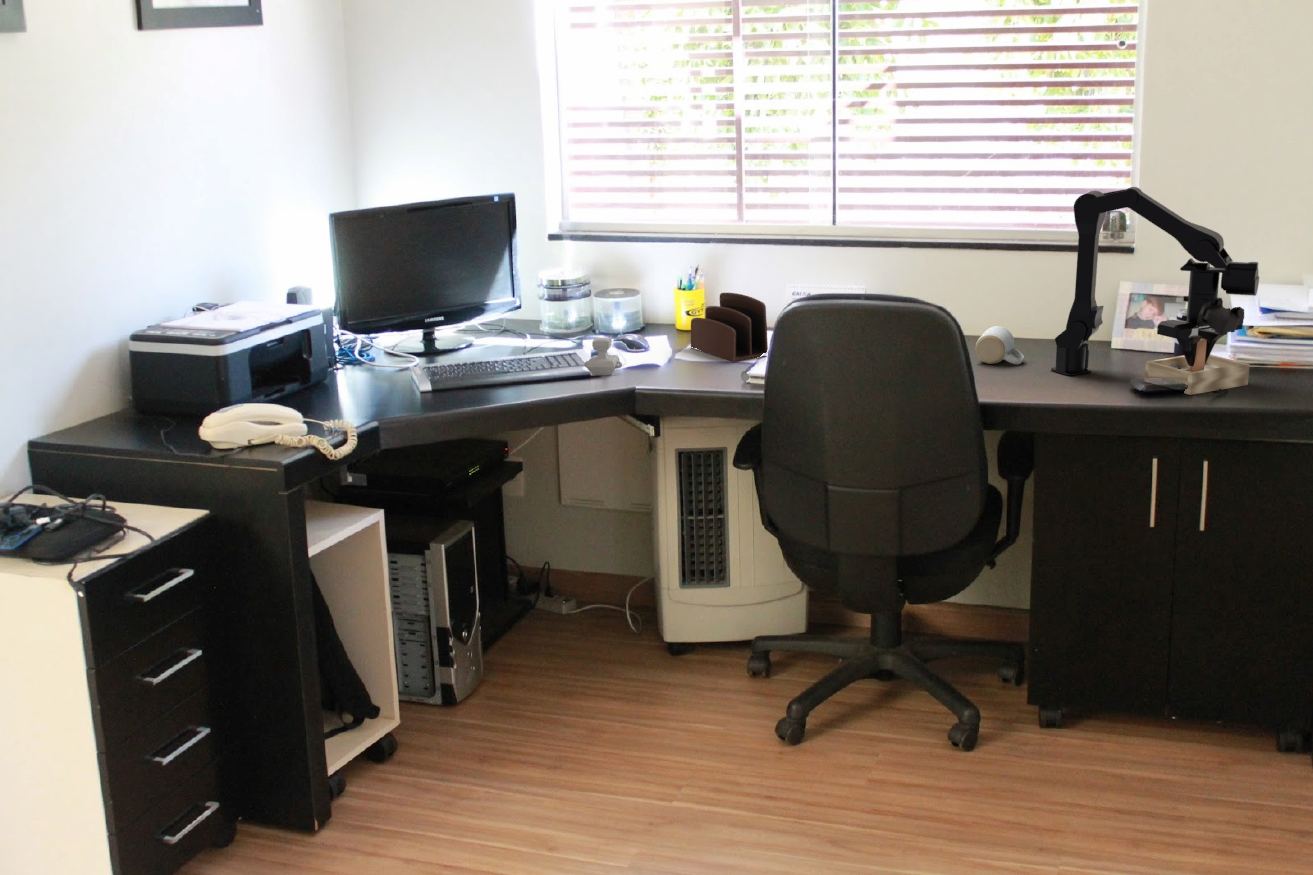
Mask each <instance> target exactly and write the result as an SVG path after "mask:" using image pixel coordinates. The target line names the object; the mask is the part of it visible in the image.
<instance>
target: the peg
mask: <svg viewBox="0 0 1313 875" xmlns="http://www.w3.org/2000/svg"><path fill="white" fill-rule="evenodd" d="M1206 344H1207V340H1206V339H1201V340H1200V341H1199V342H1198V343H1197V348H1196V356H1195V362H1194V366H1189V371H1190V372H1196V371H1202V370H1204V367H1205V355H1206Z"/></svg>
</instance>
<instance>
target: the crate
mask: <svg viewBox="0 0 1313 875" xmlns="http://www.w3.org/2000/svg"><path fill="white" fill-rule="evenodd" d="M1171 364H1178V365H1180V366H1181V369H1178V368H1175V367H1171V366H1168V365H1171ZM1250 367H1251V366H1250V363H1247V362H1242V361H1238V360H1234V359H1231V358H1226V357H1221V356H1217V355H1213V354H1210V355H1209V357H1208V360H1207V362H1206V364H1205V367H1204V370H1202V371H1196V372H1190V371H1189V365H1188V363H1187V361H1186V358H1185V356H1184V355H1183V356H1177V357H1174V356H1173V357H1166V358H1158V359H1152V360H1147V361H1145V368H1144V379H1149V378H1161V379H1165V380H1175V381H1180V382H1183V383H1185V384H1186V385H1188V388H1187V389H1185V391H1184V393H1183V394H1186V395H1190V396H1191V395H1197V394H1203V393H1208V392H1214V391H1220V390H1219V389H1221V390H1227V389H1231V388H1238V387H1242V386H1244V387H1245V386H1248V384H1249V374H1250Z"/></svg>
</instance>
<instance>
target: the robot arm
mask: <svg viewBox="0 0 1313 875" xmlns="http://www.w3.org/2000/svg"><path fill="white" fill-rule="evenodd" d="M1125 208H1126V209H1127V208H1128V209H1130V210H1131V211H1133V212H1135V213H1136V214H1138V215H1139V216H1141V217H1142V218H1144V219H1145V220H1147V221H1148V222H1149V223H1151V224H1153V225H1154V226H1156V227H1158V228H1159V229H1161V230H1162V231H1164V232H1165V233H1167V234H1168V235H1170V236H1171V237H1172V238H1174V239H1175V240H1176V241H1177V242H1178V243H1179V245H1180V246H1181V247H1182V249H1184V250H1185V251H1186V252H1187V253H1188V254H1189V255H1190V256H1191V258H1189V259H1188V260H1187V261H1186V263H1184V264H1183V265H1182V266H1180V267H1179V268H1180V269H1179V270H1180V271H1181V272H1189V283H1188V292H1187V294H1188V295H1184V296H1183V302H1186V303H1187V304H1186V305H1187V307H1186V309H1187V315H1182V320H1183V321H1187V322H1182V321H1178V320H1176V319H1168V320H1161V321H1160V322H1159V323H1158V324H1157V332H1156V334H1157V335H1160V336H1163V337H1167V338H1172V339H1175V338H1176V339H1177V341H1178V343H1179V345H1180V347H1181V349H1182V351H1183V353H1184V356H1185V358H1186V361H1187V363H1188V365H1189V366H1194V362H1195V356H1196V348H1197V343H1198V342H1199V341H1200V340H1201V339H1206V340H1207V344H1206V355H1205V364H1206V362H1207V360H1208V357H1209V355H1211V353H1212V351H1213V349H1214V347H1215V345H1216V344H1217V341H1218V340H1220V339H1221V338H1223V337H1224V336H1227V334H1228V333H1234V332H1235V331H1238V330H1239V331H1240V330H1243V325H1244V319H1245V309H1244V308H1242V307H1241V306H1237V307H1236V306H1235V307H1232V308H1227V307H1224V306H1223V303H1224V301H1223V298H1222V297H1219V294H1218V293H1219V287H1220V289H1222V290H1223V291H1225V294H1226V295H1240V296H1257V294H1258V291H1259V290H1258V289H1259V283H1260V276H1259V263H1258V261H1248V262H1247V261H1246V262H1245V261H1241V262H1240V261H1233V258H1232V257H1231V255H1230V254H1229V253H1228V252H1227V250H1226V249H1225V248H1224V246H1225V242H1224V238H1223V236H1222V235H1221V234H1220V233H1219V232H1217V231H1215V230H1213V229H1210V228H1208V227H1206V226H1203V225H1200V224H1196V223H1193V222H1191V221H1188V220H1187V219H1185V218H1183V217H1182V216H1181V215H1179V214H1177V213H1176V212H1174V211H1173V210H1171V209H1169V208H1168V207H1166V206H1165V205H1163V204H1161V203H1160V202H1159V201H1157V200H1155V199H1154V198H1152V197H1151V196H1149V195H1148V194H1147V193H1144V192H1143V190H1142V189H1140V188H1139V187H1136V186H1130V187H1127V188H1126V189H1120V190H1113V191H1109V192H1104V193H1103V192H1101V191H1099V190H1090V191H1088V192H1086V193H1084V194H1082V195H1079V196H1078V197H1077V198H1076V199H1075V201H1074V203H1073V215H1074V223H1075V226H1076V230H1077V234H1078V242H1077V243H1078V244H1077V258H1076V259H1077V260H1076V271H1075V288H1074V298H1073V302H1072V305H1071V308H1070V311H1069V314H1068V318H1067V322H1066V325H1065V329H1064V330H1063V331H1062V332H1061V333H1060V334H1059V335H1057V336H1055V338H1054V341H1055V344H1056V345H1055V346H1056V355H1055V356H1056V357H1055V367H1050V371H1051V372H1052V371H1053V372H1055V373H1060V374H1063V375H1066V376H1076V375H1083V374H1089V373H1092V372H1093V371H1092V369H1090V368H1089V361H1090V360H1089V359H1090V357H1089V356H1090V350H1089V344H1088V343H1087V342H1089V339H1090V337H1092V336H1093V335H1095V333H1098V330H1099V328H1100V326H1101V325H1103V322H1104V320H1102V318H1103V312H1104V305H1098V304H1097V301H1096V285H1097V272H1098V256H1099V243H1100V242H1099V241H1100V233H1101V231H1102V227H1103V224H1104V223H1105V220H1106V219H1105V218H1106V215H1107V213H1108V212H1113V211H1117V210H1120V209H1125ZM1194 259H1195V260H1196V261H1198V262H1196V261H1195V260H1194ZM1220 274H1221V280H1220ZM1219 284H1220V286H1219ZM1195 325H1197V326H1195Z"/></svg>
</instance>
